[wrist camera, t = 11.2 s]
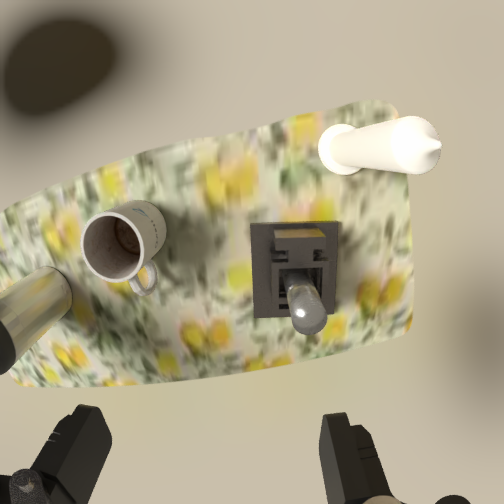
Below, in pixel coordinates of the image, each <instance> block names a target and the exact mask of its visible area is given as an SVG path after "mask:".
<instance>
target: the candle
mask: <svg viewBox="0 0 504 504" xmlns="http://www.w3.org/2000/svg"><path fill="white" fill-rule="evenodd" d="M441 147H442V143H441V142H440V139H439V136H438V134H437V132H436V130H435V129H434V127H433V126H432V125H431V124H430V123H429V122H428V121H426V120H425V119H423V118H421V117H417V116H407V117H403V118H399V119H394V120H390V121H386V122H382V123H378V124H374V125H370V126H366V127H362V128H358V129H357V128H355V127H353V126H351V125H348V124H337V125H334V126H331V127H330V128H328V129H327V130H326V131H325V132H324V133H323V134H322V136H321V138H320V140H319V145H318V152H319V156H320V159H321V161H322V163H323V164H324V165H325V167H326V168H328V169H329V170H330V171H332V172H334V173H336V174H340V175H350V174H353V173H355V172H357V171H359V170H360V169H361V168H369V169H378V170H385V171H393V172H400V173H407V174H414V175H420V174H425V173H427V172H429V171H430V170H432V169H433V168H434V167H435V165H436V164H437V162H438V160H439V157H440V151H441Z"/></svg>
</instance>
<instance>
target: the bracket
mask: <svg viewBox="0 0 504 504" xmlns="http://www.w3.org/2000/svg"><path fill="white" fill-rule="evenodd" d="M250 228H251V253H252V278H253V303H254V318H270V317H291V314H290V309H289V304H288V300H287V295H286V290H285V286H284V281H283V277H282V270H283V269H292V268H307V270H308V272H309V274H310V277H311V279H312V281H313V283H314V286H315V288H316V290H317V292H318V295H319V297H320V299H321V302H322V304H323V306H324V308H325V311H326V313H327V315H329V314H334V304H335V288H336V269H337V244H338V222H337V221H306V222H270V223H250Z"/></svg>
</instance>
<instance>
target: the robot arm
mask: <svg viewBox="0 0 504 504" xmlns="http://www.w3.org/2000/svg"><path fill="white" fill-rule="evenodd" d="M71 305H72V292H71V289H70V286H69V284H68V282H67V281H66V279H65V278H64V276H63V275H62V274H61V273H60V272H58V271H57V270H56V269H54V268H51V267H41V268H39V269H37V270H36V271H34V272H32V273H31V274H29V275H27V276H26V277H24V278H23V279H21V280H20V281H18V282H16V283H15V284H13V285H12V286H10V287H9V288H7V289H5V290H4V291H2V292H1V293H0V375H2V374H4V373H5V372H7V371H8V370H9V369H10V368H11V367H12V366H13V365H14V364H15V363H16V362H17V361H18V360H19V359H20V358H21V357H22V356H23V355H24V354H25V352H26V351H27V350H28V349H29V348H30V347H31V346H32V345H33V344H34V343H35V342H37V341H38V340H39V339H40V338H41V337H42V336H43V335H44V334H45V333H46V332H47V331H48V330H49V329H50V328H51V327H52V326H53V325H54V324H55V323H56V322H57V321H58V320H59V319H61V318H62V317H63V316H64V315H65V314H66V313H67V312H68V311H69V309H70V308H71ZM111 446H112V436H111V433H110V430H109V428H108V426H107V424H106V422H105V419H104V417H103V415H102V412H101V410H100V409H99V408H98V407H94V406H88V405H83V404H80V405H78V406H77V407H76V409H75V411H74V412H73V414H72V415H67V416H66V417H64V418H63V419H62V420H61V421H59V422H58V424H57V425H56V427H55V429H54V430H53V433H52V434H51V435H50V437H49V438H48V441H46V443H45V445H44V446H43V448H42V450H41V451H40V453H39V455H38V456H37V458H36V460H35V462H34V463H33V465H32V466H31V468H30V469H21V470H18V471H16V472H15V473H14V474H13V475H12V476H7V475H0V504H88V501H89V499H90V497H91V494H92V492H93V489H94V487H95V484H96V482H97V480H98V477H99V475H100V472H101V470H102V468H103V465H104V463H105V461H106V458H107V456H108V454H109V451H110V449H111ZM319 455H320V461H321V467H322V472H323V478H324V483H325V489H326V495H327V500H328V504H405V503H402V502H400V501H399V500H397V499H396V498H395V497H394V496H393V495H392V493H391V491H390V489H389V486H388V483H387V480H386V477H385V474H384V472H383V468H382V465H381V462H380V459H379V458H378V454H377V452H376V448H375V445H374V443H373V440H372V437H371V434H370V433H369V432H368V431H367V430H366V429H365V428H364V427H363V426H362V425H354V426H350V423H349V420H348V417H347V414H346V413H345V412H343V413H334V414H325V415H323V420H322V427H321V433H320V440H319ZM435 504H470V502H469V501H468V500H467V499H465V498H464V497H462V496H458V495H449V496H445V497H443V498H441V499H440V500H438V501H437V502H436V503H435Z"/></svg>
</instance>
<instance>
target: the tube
mask: <svg viewBox="0 0 504 504" xmlns="http://www.w3.org/2000/svg"><path fill="white" fill-rule="evenodd" d="M282 277H283V281H284V286H285V290H286V295H287V300H288V304H289V309H290V314H291V318H292V323H293V326H294V328H295V329H296V331H298V332H299V333H301V334H304V335H312V334H315V333H318V332H319V331H321V330H322V329H323V328H324V326H325V325H326V322H327V313H326V311H325V308H324V306H323V304H322V302H321V299H320V297H319V295H318V292H317V290H316V288H315V286H314V283H313V281H312V279H311V277H310V274H309V272H308V270H307V268H292V269H283V270H282Z"/></svg>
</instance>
